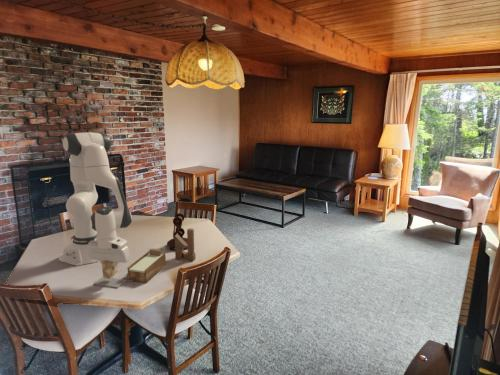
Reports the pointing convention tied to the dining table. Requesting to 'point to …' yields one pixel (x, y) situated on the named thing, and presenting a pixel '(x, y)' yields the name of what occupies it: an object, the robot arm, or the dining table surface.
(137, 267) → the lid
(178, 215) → the dark brown ringed stand
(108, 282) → the felt mat
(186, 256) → the wooden stand
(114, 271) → the light wood block
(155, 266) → the wooden box
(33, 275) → the dining table surface
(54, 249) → the dining table surface
